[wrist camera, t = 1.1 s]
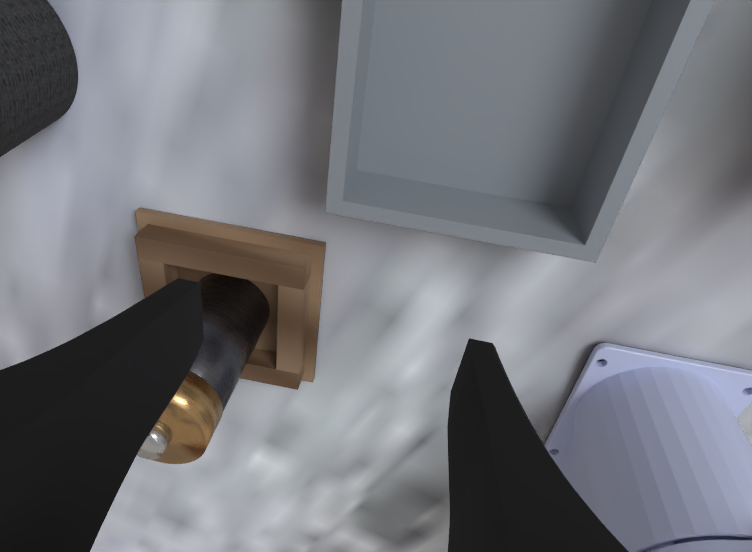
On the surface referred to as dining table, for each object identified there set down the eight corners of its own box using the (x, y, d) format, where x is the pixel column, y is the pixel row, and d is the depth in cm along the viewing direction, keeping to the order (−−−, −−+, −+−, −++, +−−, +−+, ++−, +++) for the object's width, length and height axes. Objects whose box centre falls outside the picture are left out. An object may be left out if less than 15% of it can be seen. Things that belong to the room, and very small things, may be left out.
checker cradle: (314, 377, 29) (307, 398, 28) (161, 346, 29) (146, 366, 28) (325, 242, 24) (317, 260, 23) (139, 207, 24) (120, 223, 23)
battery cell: (270, 341, 27) (201, 489, 20) (196, 327, 28) (101, 469, 20) (271, 280, 25) (193, 423, 18) (190, 264, 25) (80, 399, 18)
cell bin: (578, 217, 21) (595, 262, 19) (343, 174, 22) (324, 212, 19) (728, -154, 15) (793, -174, 12) (380, -206, 15) (361, -237, 12)
